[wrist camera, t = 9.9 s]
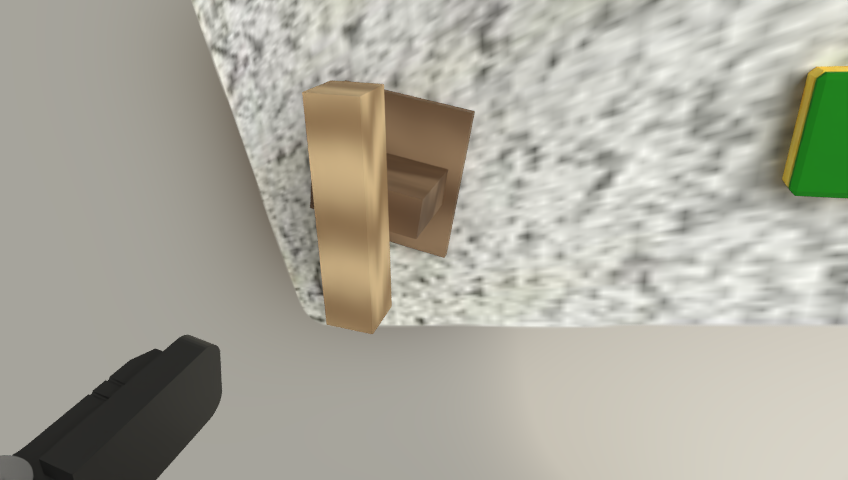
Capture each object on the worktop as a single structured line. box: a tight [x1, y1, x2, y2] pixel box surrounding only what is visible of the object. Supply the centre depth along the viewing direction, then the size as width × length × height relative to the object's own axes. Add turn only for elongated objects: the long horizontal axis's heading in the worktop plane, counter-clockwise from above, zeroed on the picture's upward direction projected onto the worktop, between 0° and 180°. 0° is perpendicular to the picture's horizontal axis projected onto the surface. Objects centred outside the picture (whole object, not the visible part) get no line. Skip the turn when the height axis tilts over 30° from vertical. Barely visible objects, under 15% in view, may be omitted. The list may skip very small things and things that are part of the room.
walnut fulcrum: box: [310, 81, 475, 258], centre depth 39 cm, size 12×10×7 cm
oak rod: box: [302, 81, 392, 334], centre depth 34 cm, size 16×4×4 cm, turn 0°
